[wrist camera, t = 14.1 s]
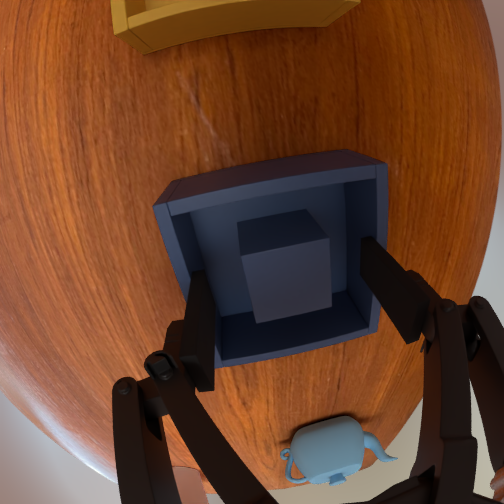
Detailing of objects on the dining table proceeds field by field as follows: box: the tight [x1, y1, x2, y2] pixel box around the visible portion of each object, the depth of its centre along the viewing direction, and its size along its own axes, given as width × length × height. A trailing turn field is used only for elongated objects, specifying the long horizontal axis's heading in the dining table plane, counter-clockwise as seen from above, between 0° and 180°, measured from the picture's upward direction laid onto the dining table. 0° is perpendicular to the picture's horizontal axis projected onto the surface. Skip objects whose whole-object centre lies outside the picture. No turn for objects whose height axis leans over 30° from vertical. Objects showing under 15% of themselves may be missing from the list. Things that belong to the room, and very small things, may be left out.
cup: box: [172, 467, 209, 504], centre depth 38 cm, size 12×12×14 cm
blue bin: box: [153, 149, 388, 368], centre depth 19 cm, size 13×13×6 cm
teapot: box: [280, 416, 398, 486], centre depth 33 cm, size 13×11×18 cm
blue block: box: [237, 209, 332, 323], centre depth 18 cm, size 5×5×5 cm
